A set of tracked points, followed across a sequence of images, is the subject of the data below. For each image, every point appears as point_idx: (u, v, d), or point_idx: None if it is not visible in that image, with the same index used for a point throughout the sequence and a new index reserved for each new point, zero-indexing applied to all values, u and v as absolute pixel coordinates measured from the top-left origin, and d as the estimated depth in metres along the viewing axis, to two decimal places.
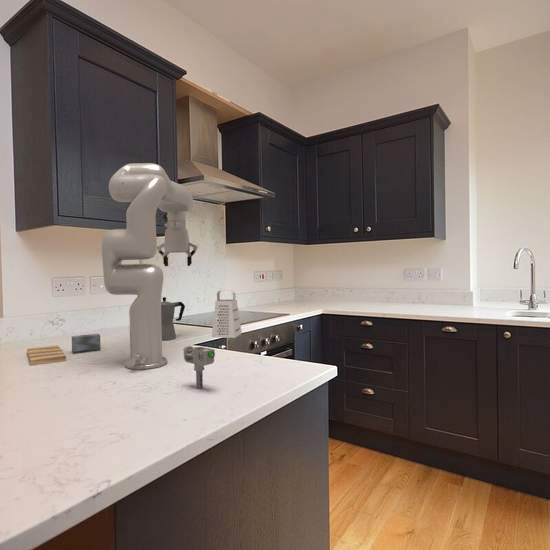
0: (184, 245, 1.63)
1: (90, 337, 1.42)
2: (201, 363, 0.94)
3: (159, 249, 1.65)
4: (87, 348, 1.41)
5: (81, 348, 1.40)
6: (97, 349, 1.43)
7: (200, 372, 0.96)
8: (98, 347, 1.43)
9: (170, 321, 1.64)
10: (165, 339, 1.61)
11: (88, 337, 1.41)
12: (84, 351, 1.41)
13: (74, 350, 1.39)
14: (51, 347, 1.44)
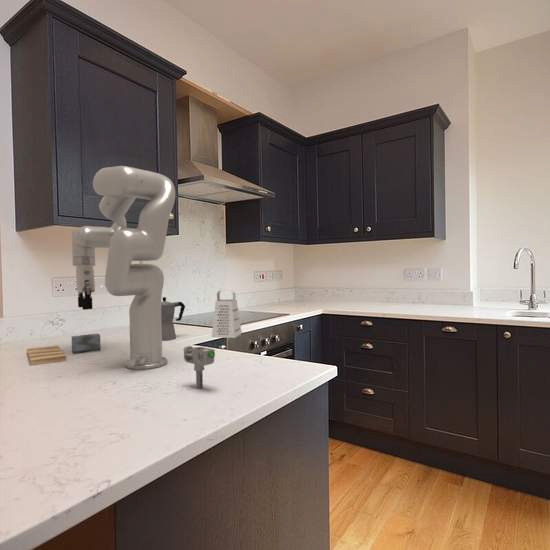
0: None
1: (90, 337, 1.42)
2: (201, 363, 0.94)
3: None
4: (87, 348, 1.41)
5: (81, 348, 1.40)
6: (97, 349, 1.43)
7: (200, 372, 0.96)
8: (98, 347, 1.43)
9: (170, 321, 1.64)
10: (165, 339, 1.61)
11: (88, 337, 1.41)
12: (84, 351, 1.41)
13: (74, 350, 1.39)
14: (51, 347, 1.44)
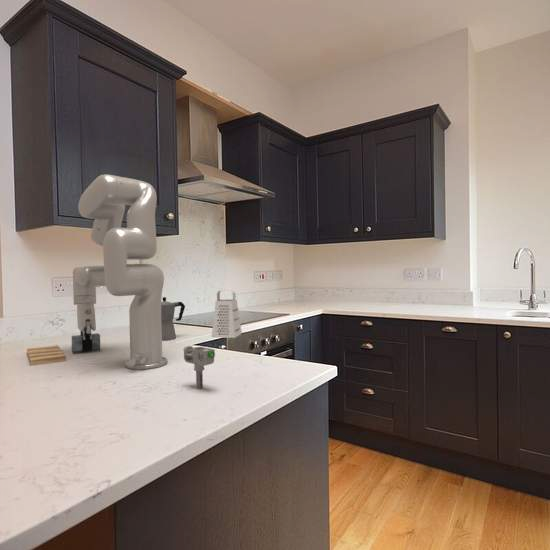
0: None
1: None
2: (201, 363, 0.94)
3: None
4: None
5: (81, 347, 1.40)
6: (97, 349, 1.43)
7: (200, 372, 0.96)
8: (98, 347, 1.43)
9: (170, 321, 1.64)
10: (165, 339, 1.61)
11: None
12: (84, 351, 1.41)
13: (74, 350, 1.39)
14: (51, 347, 1.44)
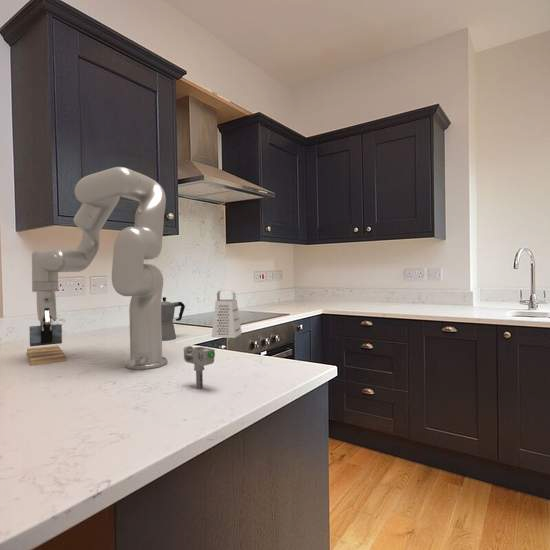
0: None
1: None
2: (201, 363, 0.94)
3: None
4: None
5: (40, 339, 1.26)
6: (58, 341, 1.29)
7: (200, 372, 0.96)
8: (59, 339, 1.29)
9: (170, 321, 1.64)
10: (165, 339, 1.61)
11: None
12: (43, 343, 1.27)
13: (31, 342, 1.25)
14: (51, 347, 1.44)
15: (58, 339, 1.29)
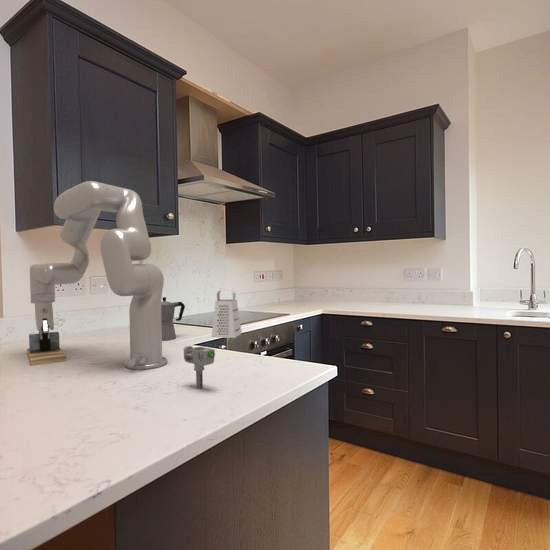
0: None
1: None
2: (201, 363, 0.94)
3: None
4: None
5: (39, 346, 1.36)
6: (56, 347, 1.39)
7: (200, 372, 0.96)
8: (57, 345, 1.39)
9: (170, 321, 1.64)
10: (165, 339, 1.61)
11: None
12: None
13: (31, 349, 1.34)
14: None
15: (56, 345, 1.39)
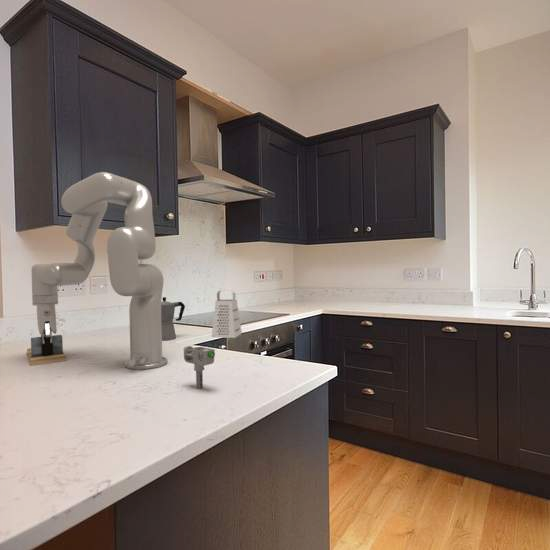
0: None
1: None
2: (201, 363, 0.94)
3: None
4: None
5: (41, 350, 1.29)
6: (59, 352, 1.32)
7: (200, 372, 0.96)
8: (60, 349, 1.32)
9: (170, 321, 1.64)
10: (165, 339, 1.61)
11: None
12: None
13: (32, 353, 1.27)
14: None
15: (59, 349, 1.32)
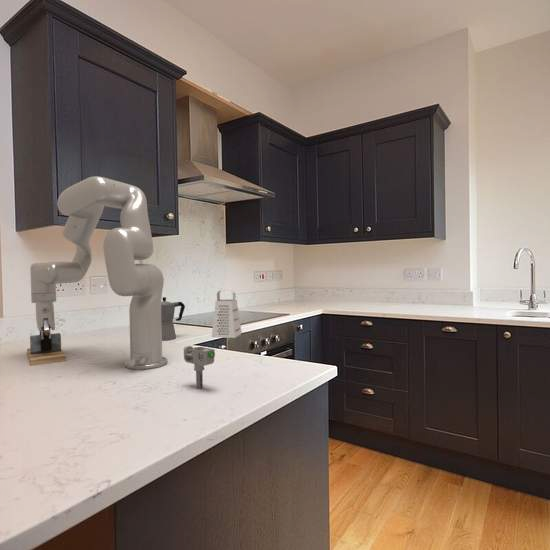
0: None
1: None
2: (201, 363, 0.94)
3: None
4: None
5: (40, 348, 1.33)
6: (58, 349, 1.36)
7: (200, 372, 0.96)
8: (58, 347, 1.36)
9: (170, 321, 1.64)
10: (165, 339, 1.61)
11: None
12: (43, 351, 1.33)
13: (32, 350, 1.31)
14: None
15: (57, 347, 1.36)
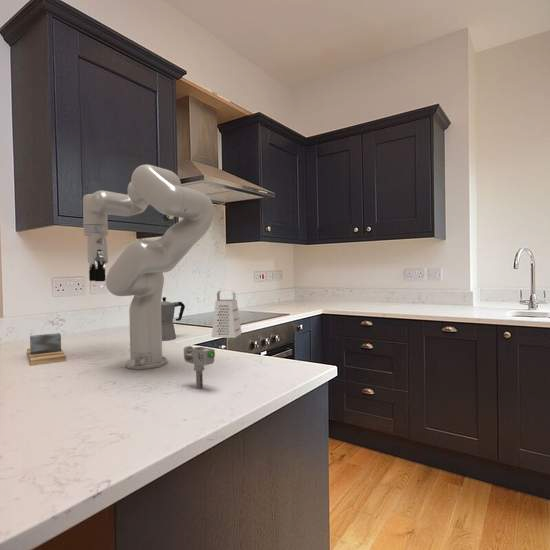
0: None
1: (49, 337, 1.34)
2: (201, 363, 0.94)
3: None
4: (46, 348, 1.34)
5: (40, 348, 1.33)
6: (58, 349, 1.36)
7: (200, 372, 0.96)
8: (58, 347, 1.36)
9: (170, 321, 1.64)
10: (165, 339, 1.61)
11: (48, 337, 1.34)
12: (43, 351, 1.33)
13: (32, 350, 1.31)
14: None
15: (57, 347, 1.36)
